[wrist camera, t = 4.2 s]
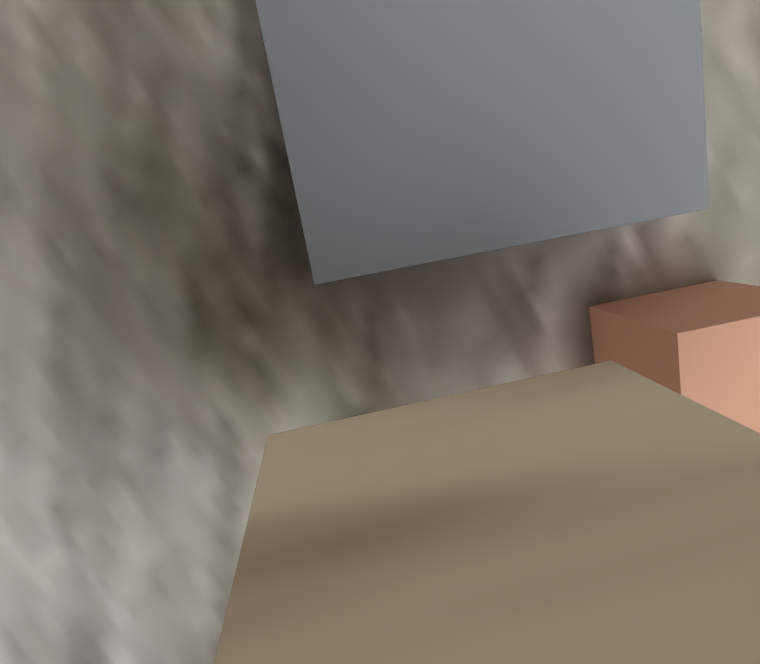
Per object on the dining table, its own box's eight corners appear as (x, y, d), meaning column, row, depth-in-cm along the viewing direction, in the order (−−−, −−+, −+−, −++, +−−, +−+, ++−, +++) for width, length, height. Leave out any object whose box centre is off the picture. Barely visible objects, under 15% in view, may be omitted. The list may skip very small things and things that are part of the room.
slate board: (648, 210, 19) (708, 208, 16) (315, 275, 18) (314, 284, 15) (621, -185, 16) (687, -274, 13) (230, -132, 15) (210, -214, 13)
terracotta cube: (720, 404, 21) (842, 459, 16) (600, 431, 21) (686, 496, 16) (715, 279, 20) (844, 298, 15) (588, 306, 20) (677, 333, 15)
